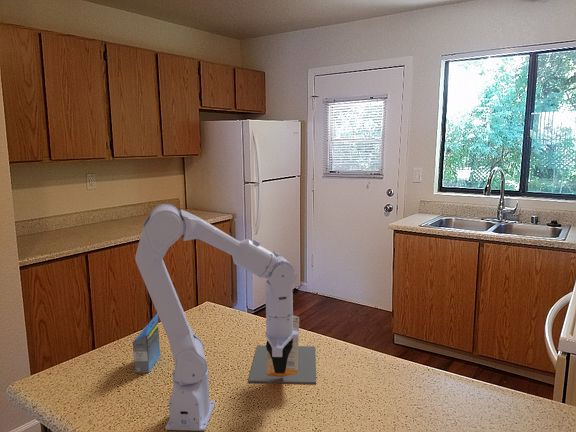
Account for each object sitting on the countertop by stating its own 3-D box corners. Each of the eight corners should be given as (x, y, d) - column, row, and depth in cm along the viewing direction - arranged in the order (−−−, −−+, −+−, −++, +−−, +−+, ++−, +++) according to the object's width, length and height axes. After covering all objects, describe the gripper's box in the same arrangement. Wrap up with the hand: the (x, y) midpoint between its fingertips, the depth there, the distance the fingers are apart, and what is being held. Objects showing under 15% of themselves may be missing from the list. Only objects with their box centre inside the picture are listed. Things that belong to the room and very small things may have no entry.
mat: (316, 383, 101) (316, 382, 101) (248, 382, 102) (248, 380, 102) (315, 347, 119) (315, 346, 119) (257, 346, 120) (257, 345, 120)
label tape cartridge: (146, 355, 115) (143, 311, 113) (161, 355, 115) (158, 312, 113) (134, 373, 106) (130, 326, 104) (149, 373, 106) (146, 326, 104)
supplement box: (264, 375, 101) (268, 320, 108) (283, 377, 103) (285, 323, 109) (278, 371, 95) (281, 312, 101) (298, 373, 96) (300, 315, 103)
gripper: (297, 327, 84) (297, 391, 87) (299, 300, 99) (299, 355, 101) (261, 327, 85) (262, 390, 87) (268, 300, 99) (269, 355, 101)
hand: (280, 371), depth 94 cm, fingers closed
